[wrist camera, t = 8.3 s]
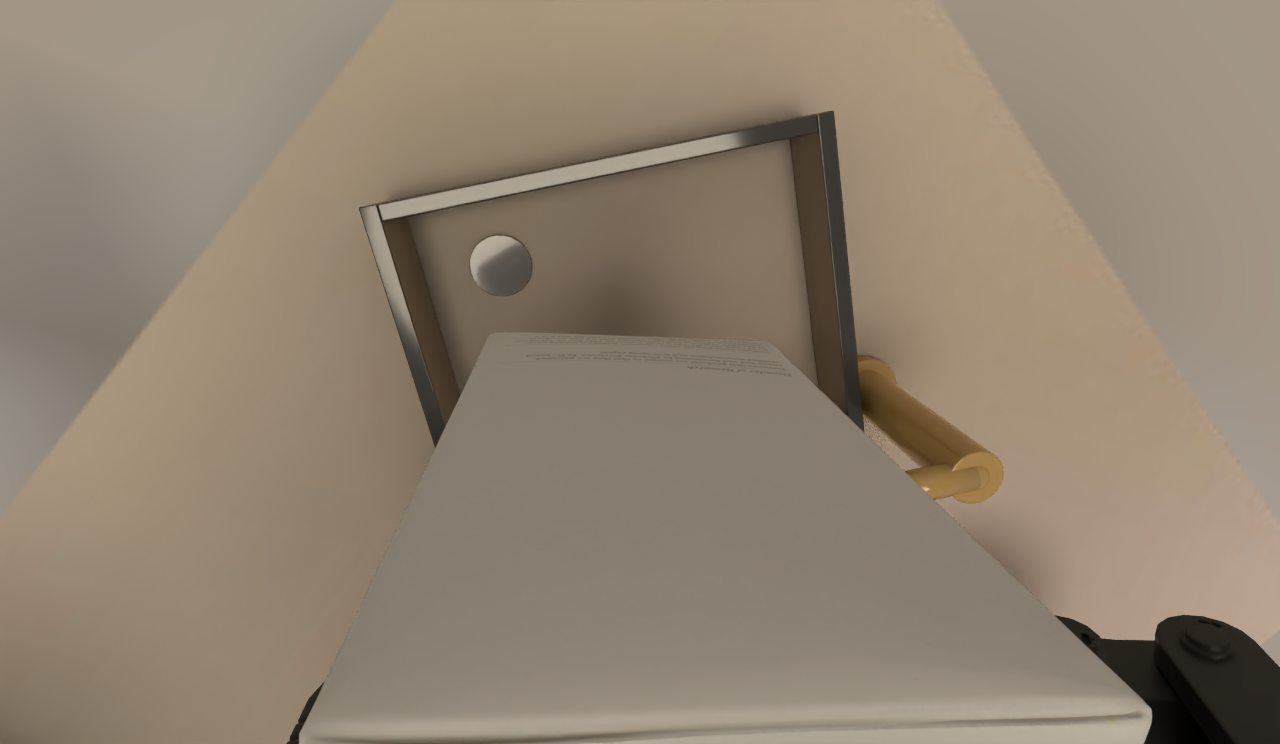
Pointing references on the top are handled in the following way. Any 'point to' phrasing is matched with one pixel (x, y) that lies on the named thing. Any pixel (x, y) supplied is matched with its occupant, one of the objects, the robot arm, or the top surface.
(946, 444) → the sink
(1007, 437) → the top surface
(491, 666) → the rectangular carton
